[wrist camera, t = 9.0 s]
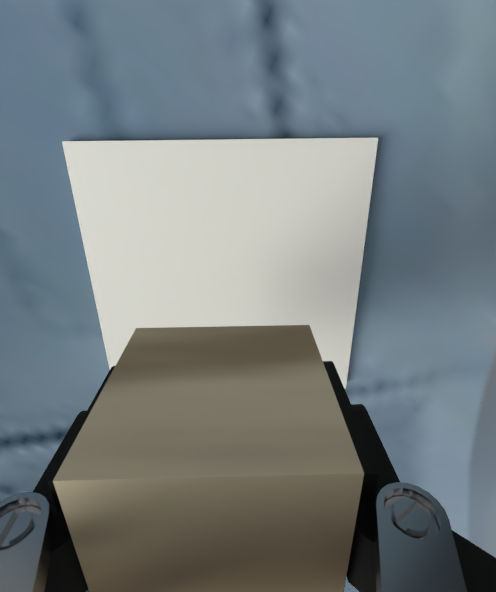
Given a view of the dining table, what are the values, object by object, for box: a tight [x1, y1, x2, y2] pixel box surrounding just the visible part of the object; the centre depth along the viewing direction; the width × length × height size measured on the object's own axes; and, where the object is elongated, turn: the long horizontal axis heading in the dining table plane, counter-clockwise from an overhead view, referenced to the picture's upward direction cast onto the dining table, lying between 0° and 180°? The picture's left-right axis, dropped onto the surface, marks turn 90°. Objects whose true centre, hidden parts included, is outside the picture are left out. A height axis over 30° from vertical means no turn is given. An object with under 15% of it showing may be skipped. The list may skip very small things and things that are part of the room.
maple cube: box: [53, 325, 364, 592], centre depth 9 cm, size 5×5×5 cm
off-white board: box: [62, 138, 378, 388], centre depth 19 cm, size 14×14×1 cm
